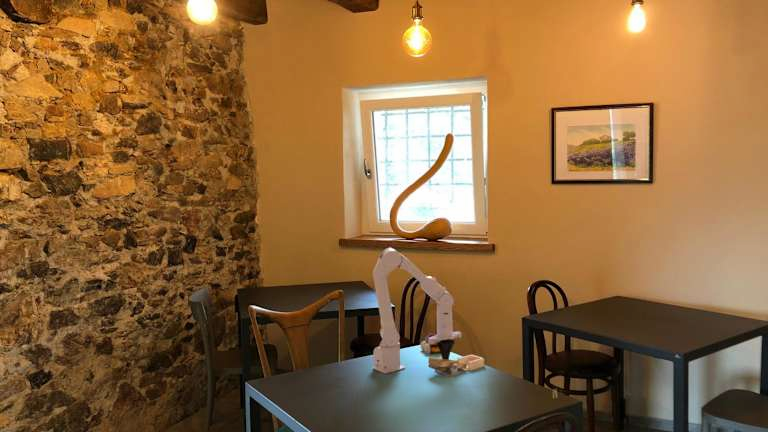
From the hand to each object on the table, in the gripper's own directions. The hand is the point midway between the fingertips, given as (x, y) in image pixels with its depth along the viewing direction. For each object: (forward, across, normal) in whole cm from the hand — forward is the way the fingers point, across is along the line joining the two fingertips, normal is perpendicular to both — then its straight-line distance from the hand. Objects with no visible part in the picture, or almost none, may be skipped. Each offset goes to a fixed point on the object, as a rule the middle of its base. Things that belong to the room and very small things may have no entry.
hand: (445, 359), depth 230 cm
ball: (0, +8, -7) cm, 10 cm away
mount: (+2, -5, -7) cm, 9 cm away
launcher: (+1, -5, -3) cm, 7 cm away
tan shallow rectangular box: (+2, +6, -7) cm, 9 cm away
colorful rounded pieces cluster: (+2, +8, +17) cm, 19 cm away
